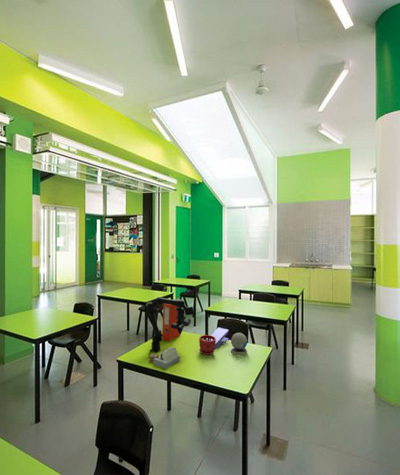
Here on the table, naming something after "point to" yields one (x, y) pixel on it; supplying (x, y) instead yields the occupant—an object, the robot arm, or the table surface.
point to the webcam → (239, 344)
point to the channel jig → (166, 364)
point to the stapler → (219, 336)
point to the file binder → (169, 322)
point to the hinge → (168, 354)
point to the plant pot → (207, 344)
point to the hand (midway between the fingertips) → (180, 334)
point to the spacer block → (153, 357)
